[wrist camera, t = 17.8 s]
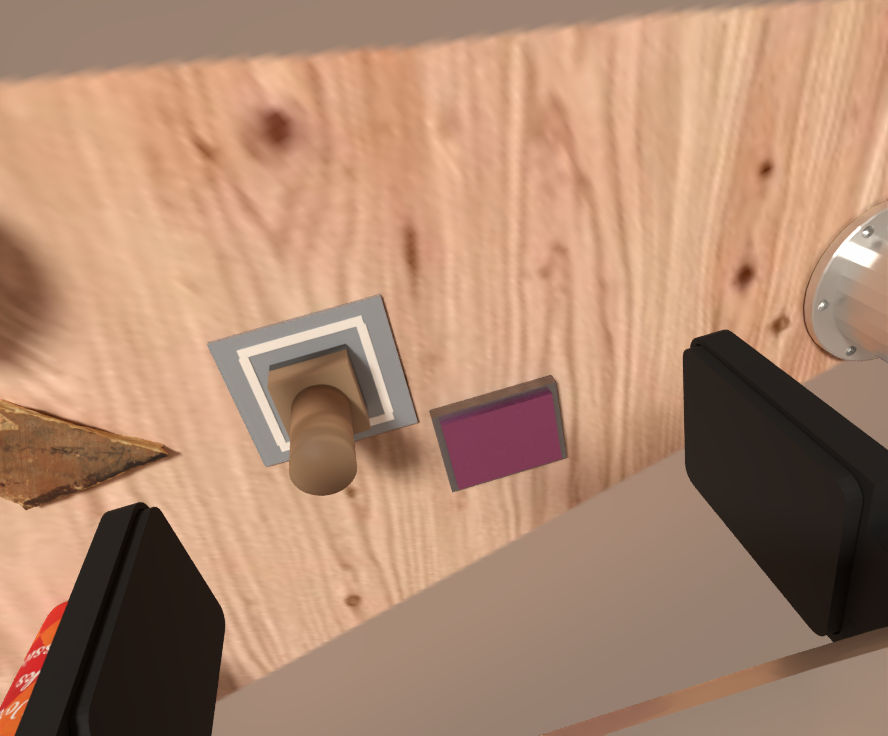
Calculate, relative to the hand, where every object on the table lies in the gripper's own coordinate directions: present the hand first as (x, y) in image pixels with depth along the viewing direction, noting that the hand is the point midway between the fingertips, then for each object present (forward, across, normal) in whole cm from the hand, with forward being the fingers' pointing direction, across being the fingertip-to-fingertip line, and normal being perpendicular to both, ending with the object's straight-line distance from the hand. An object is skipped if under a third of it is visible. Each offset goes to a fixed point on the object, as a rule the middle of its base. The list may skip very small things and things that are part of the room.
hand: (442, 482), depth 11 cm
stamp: (+28, +6, +13) cm, 32 cm away
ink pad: (+28, -5, +21) cm, 36 cm away
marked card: (+28, +6, +13) cm, 32 cm away
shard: (+29, +23, +12) cm, 39 cm away
